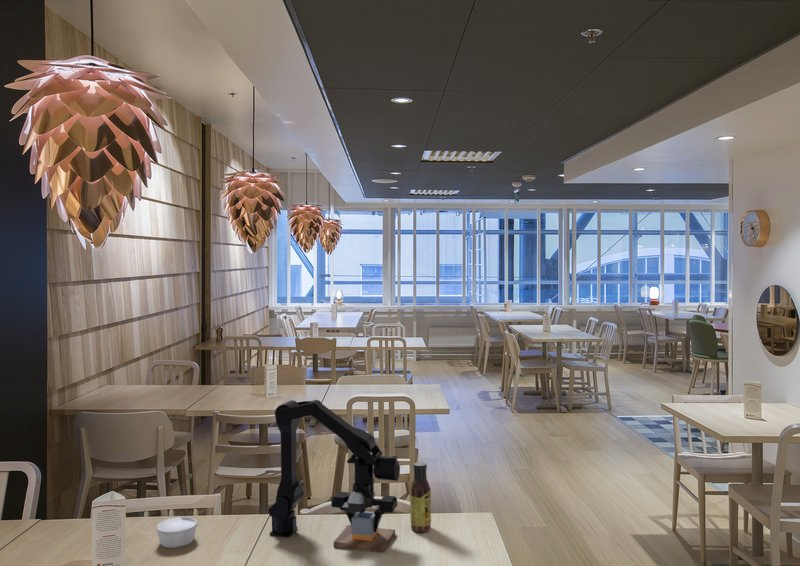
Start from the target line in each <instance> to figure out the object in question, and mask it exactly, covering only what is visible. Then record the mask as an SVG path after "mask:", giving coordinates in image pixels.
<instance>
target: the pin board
mask: <svg viewBox="0 0 800 566" xmlns="http://www.w3.org/2000/svg"><path fill="white" fill-rule="evenodd" d="M395 536H396V529H392V528H391V529H390V528H381V527H378V532H377V534H376V535H375V537H374V538H373V540H372V541H367V540H358V539H352V526H351V524H347V525H346V527H344V529H343V530H342V531H341V532H340V534H339V535H337V537H336V539H334V541H333V548H339V549H348V550H356V549H357V550H356V551H365V550H367V552H374V551H376V552H378V553H385V552H386V550H387V548H388V547H389V545H390V544H391V543H392V540H393V538H394V537H395Z"/></svg>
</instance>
